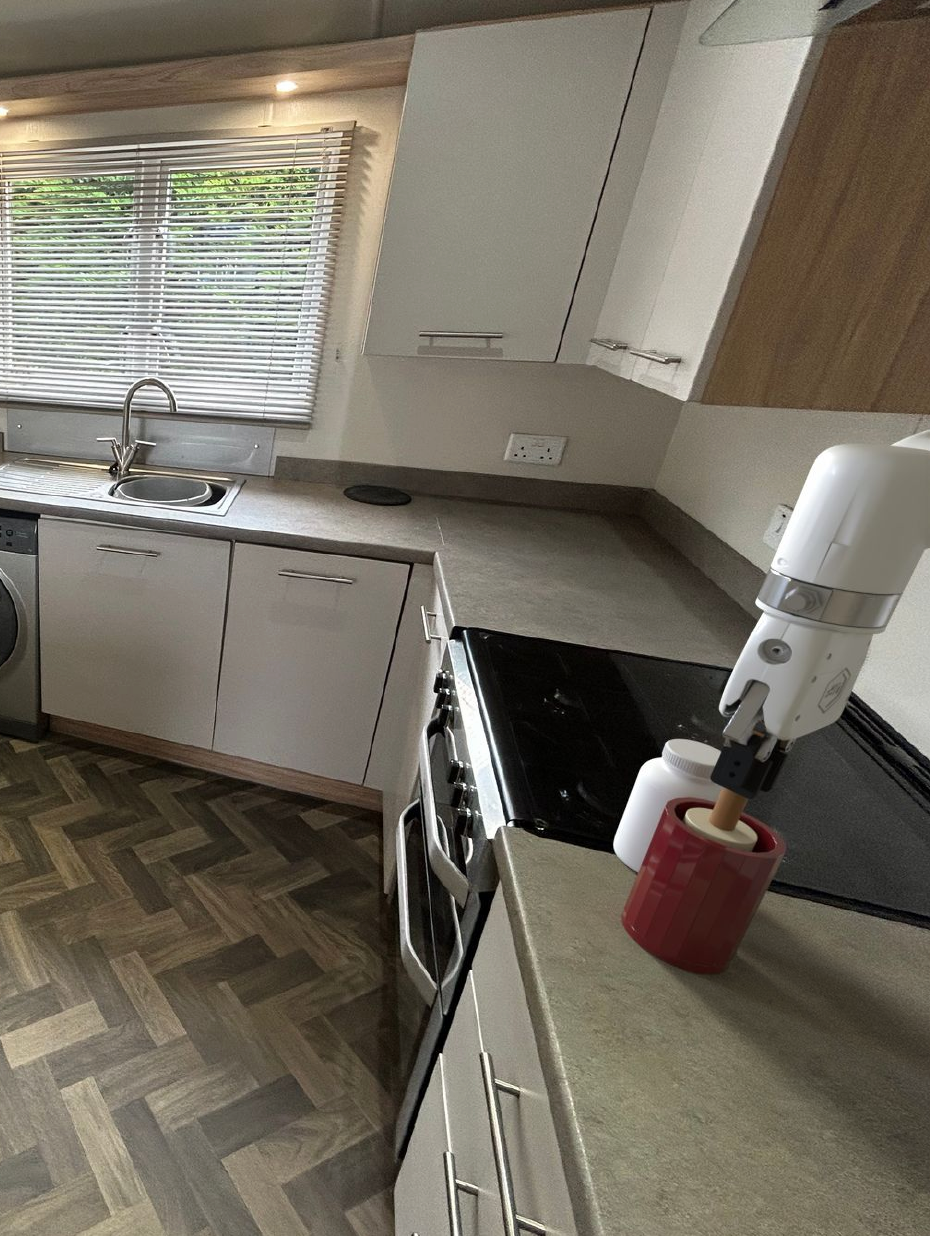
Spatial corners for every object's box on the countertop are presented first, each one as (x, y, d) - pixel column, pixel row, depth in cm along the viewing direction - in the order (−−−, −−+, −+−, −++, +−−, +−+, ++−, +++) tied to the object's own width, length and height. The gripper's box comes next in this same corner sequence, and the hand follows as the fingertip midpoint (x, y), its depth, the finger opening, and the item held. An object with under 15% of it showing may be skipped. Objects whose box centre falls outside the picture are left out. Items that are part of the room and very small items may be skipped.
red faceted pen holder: (650, 896, 76) (695, 788, 71) (747, 956, 69) (805, 842, 64) (602, 920, 73) (646, 809, 68) (699, 986, 66) (756, 868, 61)
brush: (679, 858, 72) (743, 713, 66) (740, 893, 68) (814, 742, 61) (650, 872, 70) (713, 724, 64) (711, 909, 66) (784, 754, 59)
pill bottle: (594, 846, 84) (634, 737, 78) (642, 832, 86) (684, 726, 80) (666, 895, 76) (716, 780, 71) (717, 879, 79) (769, 766, 73)
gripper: (839, 632, 52) (743, 835, 58) (934, 602, 58) (837, 789, 64) (715, 596, 58) (641, 782, 65) (812, 572, 64) (735, 745, 71)
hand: (739, 784), depth 65 cm, fingers closed on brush
